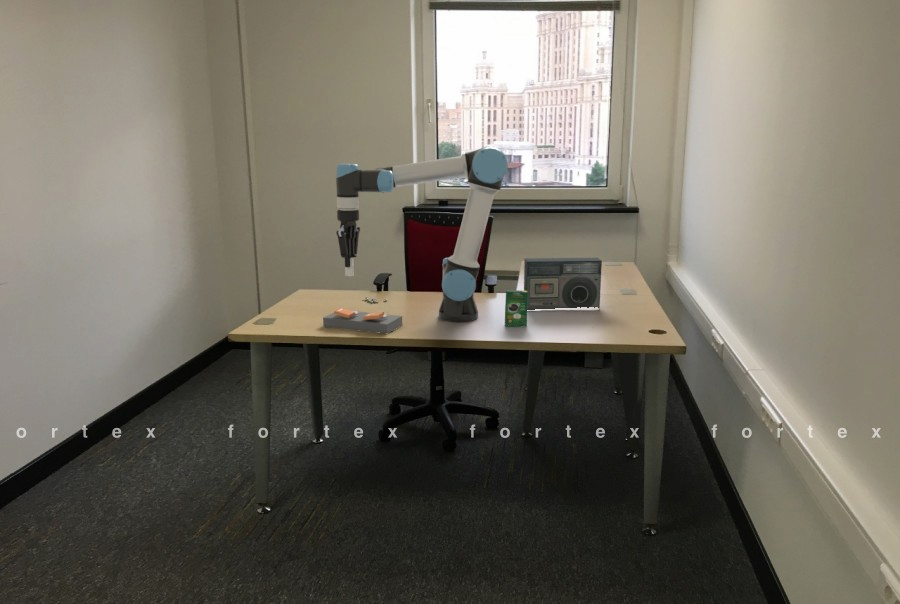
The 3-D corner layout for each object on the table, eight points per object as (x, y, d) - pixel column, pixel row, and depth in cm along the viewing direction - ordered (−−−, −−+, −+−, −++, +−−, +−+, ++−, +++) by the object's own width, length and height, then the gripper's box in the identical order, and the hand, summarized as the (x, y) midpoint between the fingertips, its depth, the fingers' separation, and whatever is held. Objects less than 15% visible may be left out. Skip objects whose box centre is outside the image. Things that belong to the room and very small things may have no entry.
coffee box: (526, 324, 245) (527, 289, 242) (527, 326, 242) (528, 291, 239) (504, 324, 245) (505, 289, 242) (505, 326, 242) (505, 291, 239)
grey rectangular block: (402, 325, 245) (402, 315, 244) (387, 334, 234) (387, 323, 233) (340, 318, 254) (340, 308, 253) (323, 326, 243) (322, 316, 243)
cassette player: (525, 311, 263) (526, 261, 259) (523, 307, 270) (524, 258, 265) (599, 310, 264) (601, 260, 259) (595, 306, 271) (597, 257, 266)
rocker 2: (384, 315, 239) (383, 311, 239) (378, 318, 235) (378, 314, 235) (369, 316, 242) (369, 313, 242) (364, 319, 238) (363, 316, 238)
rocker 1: (354, 315, 244) (355, 311, 244) (348, 318, 240) (348, 314, 240) (340, 310, 246) (340, 307, 246) (334, 313, 242) (334, 310, 242)
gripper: (347, 206, 240) (349, 271, 245) (328, 210, 228) (330, 278, 234) (366, 207, 237) (367, 273, 243) (348, 211, 225) (349, 280, 231)
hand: (349, 275), depth 238 cm, fingers closed
